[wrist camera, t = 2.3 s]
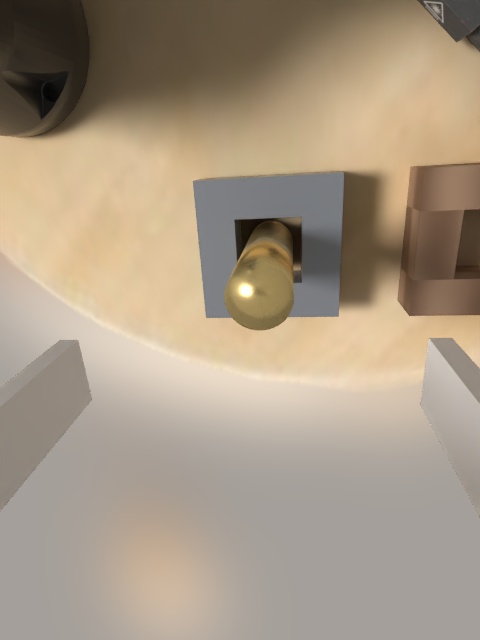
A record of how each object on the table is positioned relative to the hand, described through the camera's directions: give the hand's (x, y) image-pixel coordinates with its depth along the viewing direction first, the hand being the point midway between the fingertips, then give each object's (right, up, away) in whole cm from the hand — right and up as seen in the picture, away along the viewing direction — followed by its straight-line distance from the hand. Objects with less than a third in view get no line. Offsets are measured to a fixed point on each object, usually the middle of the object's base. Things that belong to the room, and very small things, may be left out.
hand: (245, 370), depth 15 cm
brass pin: (+3, +9, +22) cm, 24 cm away
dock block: (+21, +9, +20) cm, 30 cm away
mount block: (+3, +9, +22) cm, 24 cm away
